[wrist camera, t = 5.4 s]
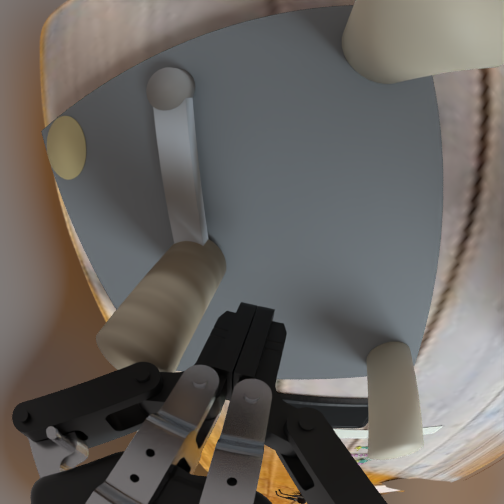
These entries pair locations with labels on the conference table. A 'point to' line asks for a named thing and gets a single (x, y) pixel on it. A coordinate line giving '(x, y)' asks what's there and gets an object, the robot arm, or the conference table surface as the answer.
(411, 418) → the grey square base plate
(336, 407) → the phone
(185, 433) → the robot arm
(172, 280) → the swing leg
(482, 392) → the conference table surface
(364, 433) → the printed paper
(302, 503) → the sunglasses
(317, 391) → the conference table surface
